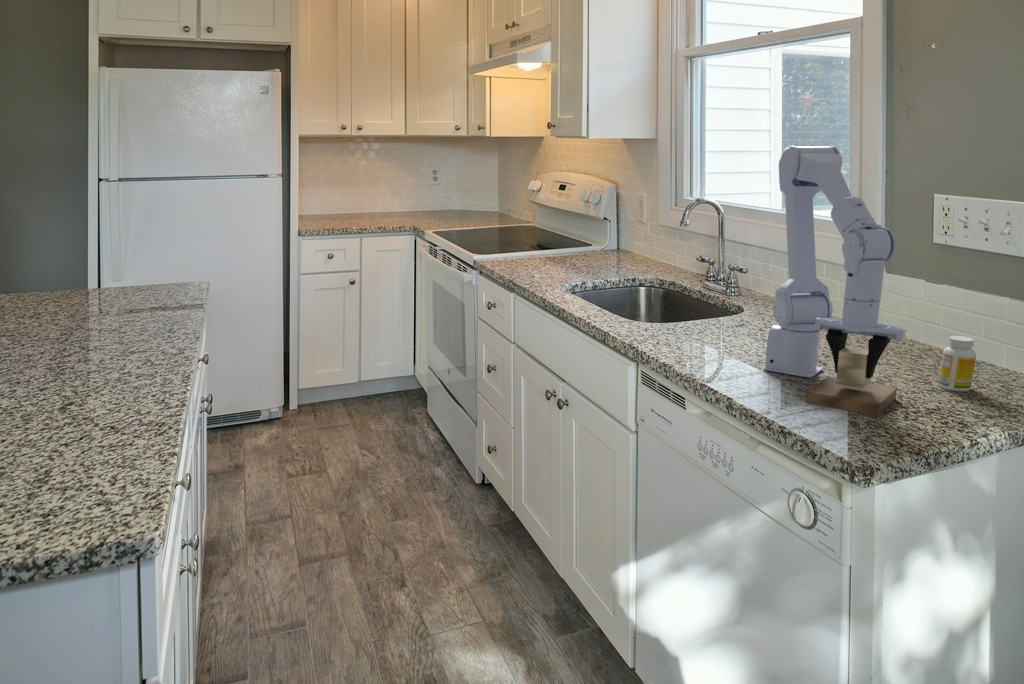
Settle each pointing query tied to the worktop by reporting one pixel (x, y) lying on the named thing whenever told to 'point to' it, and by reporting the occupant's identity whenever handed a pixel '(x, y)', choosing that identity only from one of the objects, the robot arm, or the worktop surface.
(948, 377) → the supplement bottle
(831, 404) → the walnut plinth
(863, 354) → the beech block
